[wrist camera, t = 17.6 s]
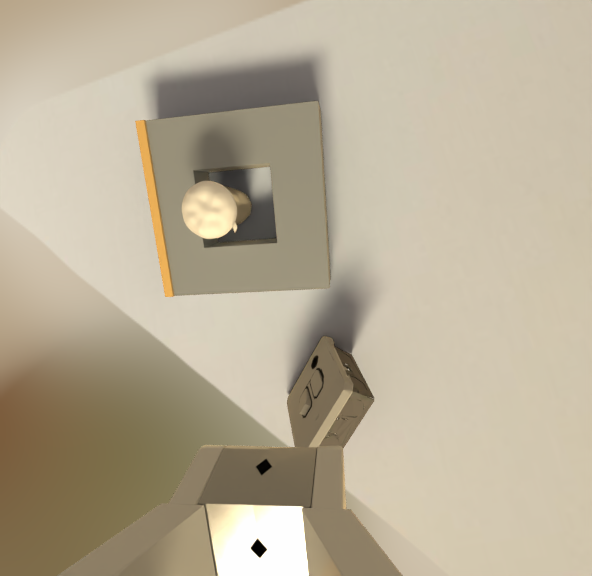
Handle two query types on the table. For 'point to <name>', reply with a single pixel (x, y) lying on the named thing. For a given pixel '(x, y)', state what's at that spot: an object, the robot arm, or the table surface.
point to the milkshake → (214, 209)
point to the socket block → (233, 156)
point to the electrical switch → (328, 398)
